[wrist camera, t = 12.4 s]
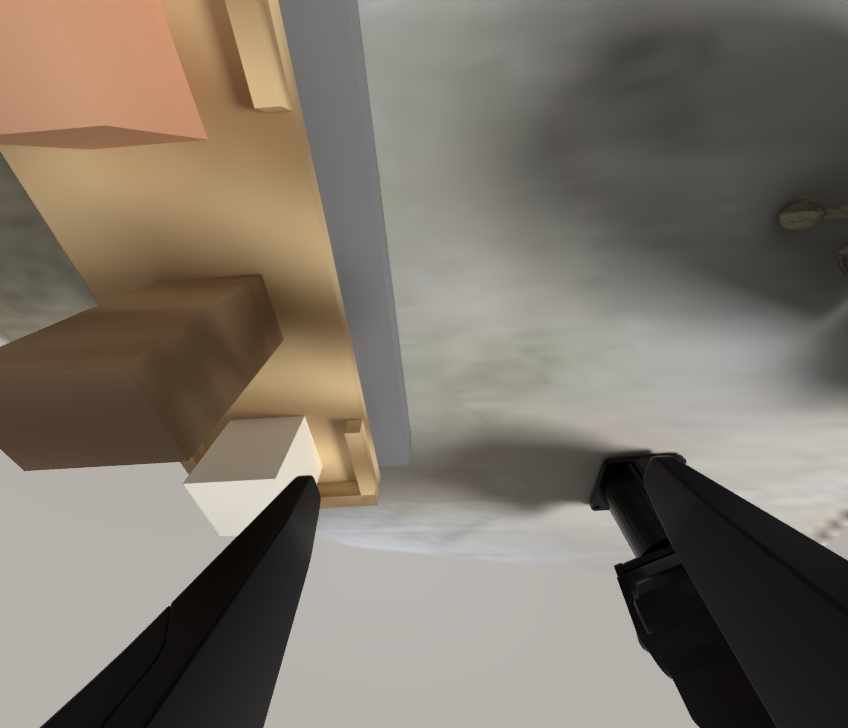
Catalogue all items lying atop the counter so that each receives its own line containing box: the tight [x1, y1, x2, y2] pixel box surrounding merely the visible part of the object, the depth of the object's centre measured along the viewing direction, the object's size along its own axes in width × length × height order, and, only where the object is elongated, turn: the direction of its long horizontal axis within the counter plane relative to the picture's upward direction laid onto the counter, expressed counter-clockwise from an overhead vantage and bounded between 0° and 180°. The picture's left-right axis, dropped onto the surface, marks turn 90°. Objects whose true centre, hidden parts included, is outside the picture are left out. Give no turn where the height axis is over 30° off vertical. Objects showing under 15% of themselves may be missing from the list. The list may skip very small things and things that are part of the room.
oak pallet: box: [0, 0, 381, 508], centre depth 12 cm, size 25×10×9 cm, turn 4°
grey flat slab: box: [278, 0, 411, 468], centre depth 17 cm, size 26×14×3 cm, turn 4°
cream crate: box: [183, 416, 322, 537], centre depth 16 cm, size 4×4×4 cm
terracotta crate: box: [0, 0, 208, 150], centre depth 8 cm, size 4×4×4 cm
